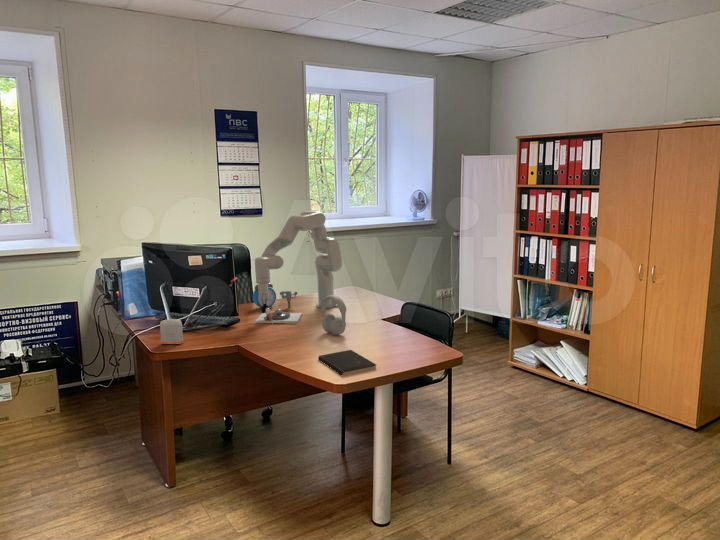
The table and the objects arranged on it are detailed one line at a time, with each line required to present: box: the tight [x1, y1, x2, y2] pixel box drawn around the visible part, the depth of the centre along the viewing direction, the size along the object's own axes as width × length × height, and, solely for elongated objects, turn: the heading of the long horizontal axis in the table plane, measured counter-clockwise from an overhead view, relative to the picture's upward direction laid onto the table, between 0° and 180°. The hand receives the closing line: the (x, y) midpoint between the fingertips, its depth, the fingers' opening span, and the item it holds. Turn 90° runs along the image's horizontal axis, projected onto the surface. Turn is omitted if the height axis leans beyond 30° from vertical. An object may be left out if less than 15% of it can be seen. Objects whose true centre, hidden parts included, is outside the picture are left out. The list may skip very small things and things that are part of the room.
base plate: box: [254, 312, 303, 325], centre depth 306 cm, size 23×17×4 cm
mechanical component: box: [279, 290, 298, 309], centre depth 332 cm, size 3×10×10 cm, turn 89°
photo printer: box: [159, 318, 184, 343], centre depth 265 cm, size 10×4×12 cm, turn 94°
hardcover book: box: [317, 349, 378, 376], centre depth 233 cm, size 16×23×2 cm
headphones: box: [320, 294, 347, 336], centre depth 275 cm, size 18×8×20 cm, turn 39°
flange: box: [264, 307, 291, 320], centre depth 304 cm, size 15×12×6 cm
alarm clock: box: [252, 282, 277, 310], centre depth 333 cm, size 13×6×15 cm, turn 125°
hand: (265, 312), depth 303 cm, fingers closed
